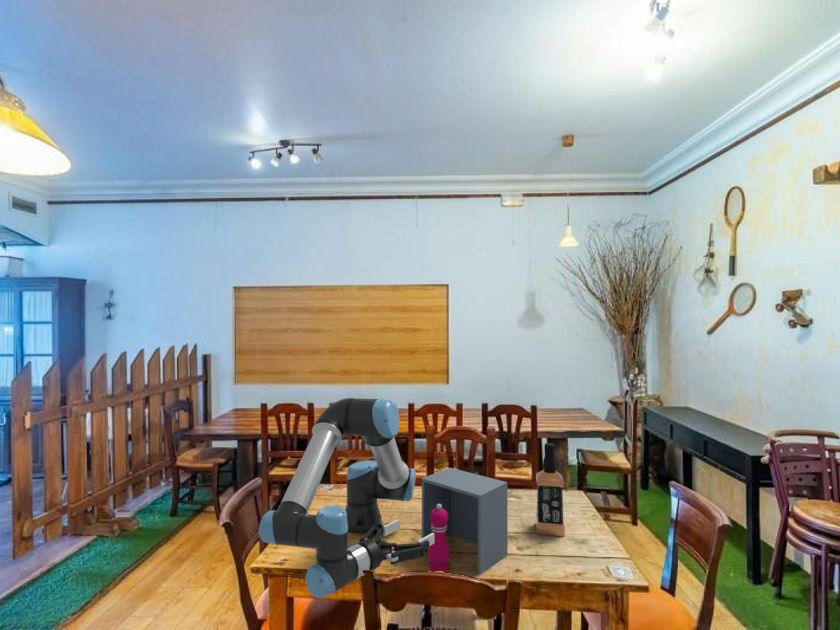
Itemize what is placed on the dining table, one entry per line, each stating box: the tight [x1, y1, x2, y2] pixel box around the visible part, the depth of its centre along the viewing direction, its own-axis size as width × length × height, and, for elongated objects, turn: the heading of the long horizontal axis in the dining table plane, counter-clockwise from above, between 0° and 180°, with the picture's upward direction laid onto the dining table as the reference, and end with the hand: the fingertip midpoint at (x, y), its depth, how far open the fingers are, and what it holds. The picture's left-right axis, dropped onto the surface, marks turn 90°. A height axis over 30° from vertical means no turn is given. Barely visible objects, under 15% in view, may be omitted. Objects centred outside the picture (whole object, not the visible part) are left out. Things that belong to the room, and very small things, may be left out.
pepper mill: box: [427, 504, 451, 573], centre depth 143 cm, size 7×7×20 cm
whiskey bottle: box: [535, 442, 566, 537], centre depth 171 cm, size 10×10×32 cm
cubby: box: [421, 467, 508, 575], centre depth 154 cm, size 24×16×24 cm, turn 49°
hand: (415, 530), depth 135 cm, fingers open, 13 cm apart
